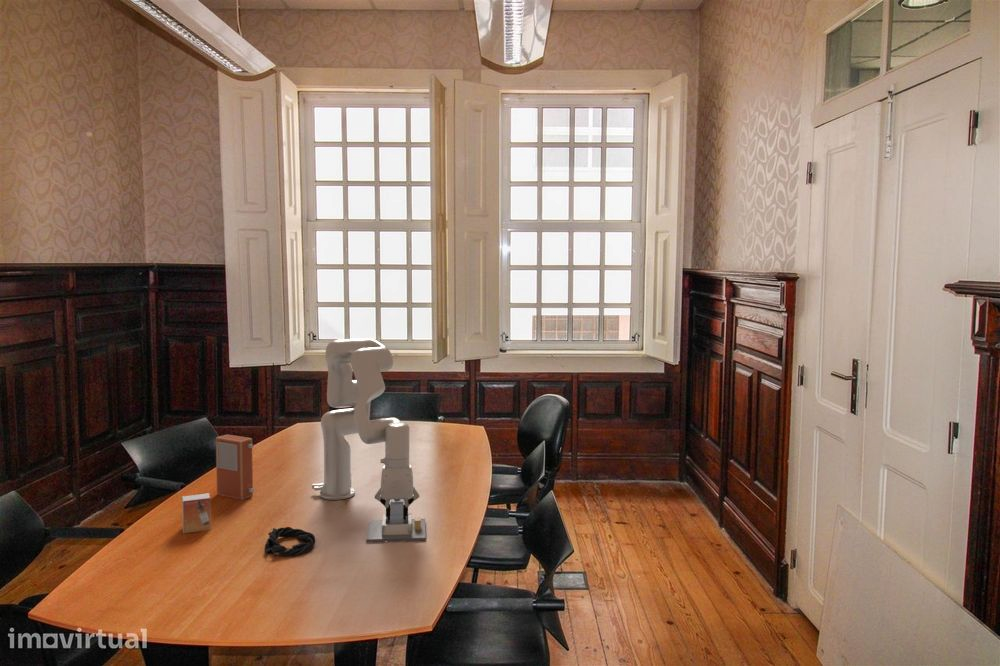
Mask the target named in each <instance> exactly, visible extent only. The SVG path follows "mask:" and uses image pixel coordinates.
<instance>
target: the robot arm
mask: <svg viewBox="0 0 1000 666" xmlns="http://www.w3.org/2000/svg"><path fill="white" fill-rule="evenodd" d="M325 361H326V364H327V369H328V370H327V371H328V374H327V386H326V387H327V388H326V400H327V404H328V406H329V407H331V408H335V410H334V409H333V410H330V411H327V412H326V413H324V414H323V415H322V416H321V420H320V427H321V432H322V438H323V439H322V440H323V476H324V477H323V482H320V483H312V484H311V489H312V490H313V491H320V492H319V497H320V498H321V499H323V500H328V501H329V500H330V501H339V500H345V499H346V500H347V499H348V498H352V497H353V496H354V495H355V494H356V490H355V489H354V488H353V487H352V486H351V483H352V482H351V481H352V480H351V479H352V478H351V477H352V475H351V468H352V467H351V465H352V464H351V457H352V456H351V452H352V451H351V445H350V444H349V442H348V441H347V440H346V438H345V436H349V435H354V434H358V436H359V438H360V440H361V441H362V443H364V444H365V445H373V444H380V443H384V444H385V445H384V447H385V450H384V451H385V452H384V453H385V454H384V455H385V456H384V458H380V463H381V464H383V466H382V469H381V475H380V476H381V477H380V478H381V479H380V487H379V489H378V490H377V491H376V493H375V495H374V499H375V500H376V501H378V502H380V503H381V504H382V505H383V506H384V508H385V514H386V517H388V520H390V503H391V500H395V499H404V508H403V519H404V520H406V516H408V513H409V507H410V505H411V504H413V503H414V502H415V501H416V500H417V499H420V493H419V492H418V491H417V489H416V488H415V486H414V475H413V467H412V465H411V464H410V425H409V424H407V423H406V422H402V420H400V419H399V418H397V417H385V418H384V417H383V418H378V419H377V418H376V419H370V416H371V403H372V400H375V399H377V398H378V397H380V396H381V395H382V394H384V392H385V390H386V384H385V382H384V378H383V375H382V373H381V372H388V371H390V370H391V369H392V367H393V364H394V359H393V354H392V353H391V351H390V349H389V348H388V347H387V346H385V345H384V344H382V343H381V342H379V341H378V340H377V339H373V338H369V337H368V338H367V337H366V338H346V339H344V338H343V339H336V340H332V341H330V342H329V343H327V345H326V348H325ZM353 374H354V375H353ZM353 376H354V378H355V379H353ZM350 407H352V408H350ZM336 408H337V409H336ZM338 408H341V409H338ZM342 408H343V409H342Z"/></svg>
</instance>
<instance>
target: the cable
mask: <svg viewBox="0 0 1000 666" xmlns="http://www.w3.org/2000/svg"><path fill="white" fill-rule="evenodd" d="M267 534H268V538H267V539H266V542H265V545H264V553H265V554H269V553H272V555H273V556H275V554H278V555H279V556H283V557H289V558H293V557H296V556H297V557H298V556H299V555H302V554H303V555H304V554H308V553H309V552H310V551H311V550H312V549H313V547H314V546H315V543H316V537H315V535H314V534H313V533H312V532H310V531H309V532H308V531H306V530H303V529H300V528H292V527H291V526H286V527H279V528H277V529H276V528H275V527H274V528H272V531H269V532H268V533H267ZM295 537H296V538H297V540H300V541H301V540H302V541H303V540H305V541H306V542H301V543H297V544H294V545H291V547H286V546H284V545H282V544H280V543H279V542H278V539H279V538H295Z"/></svg>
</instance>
